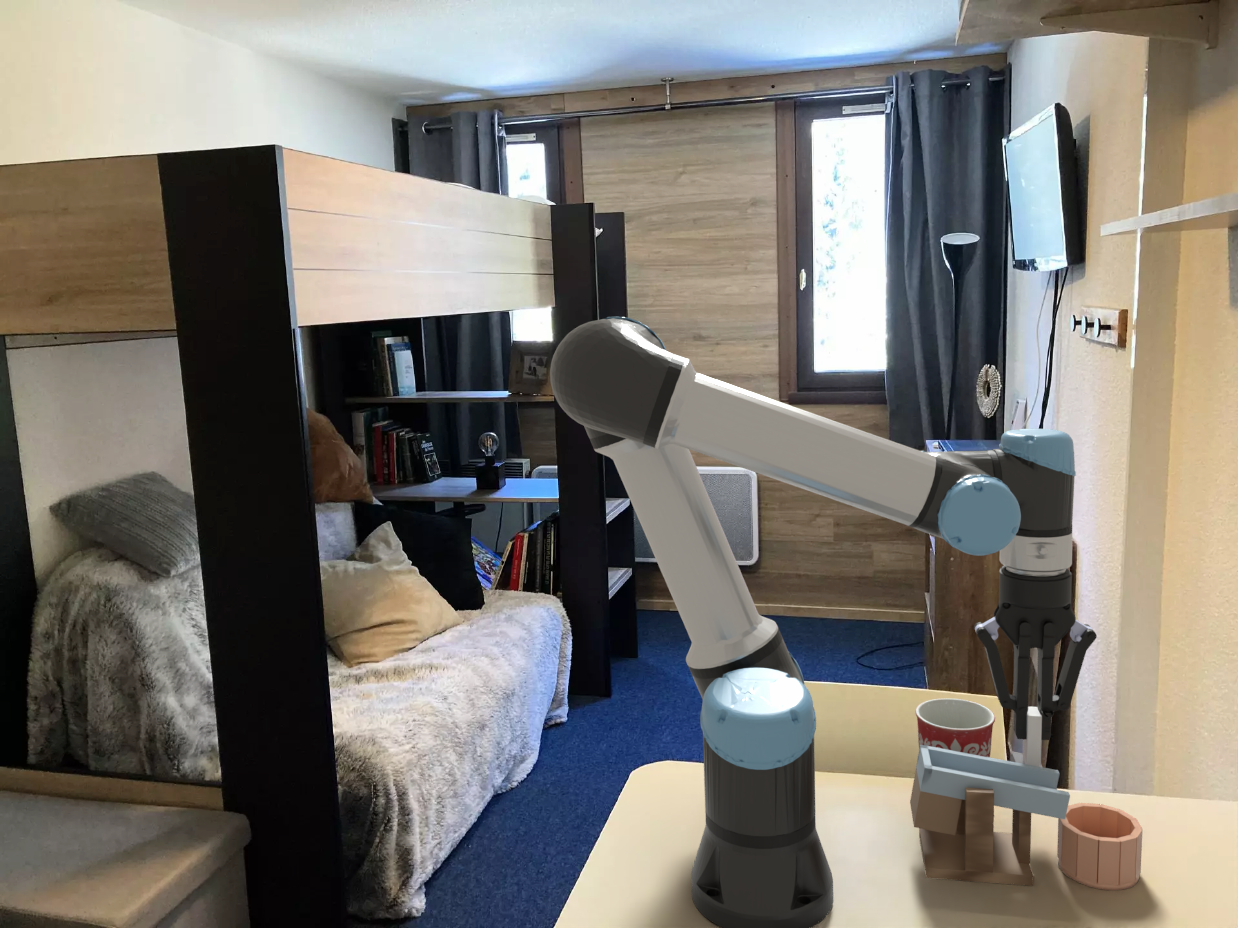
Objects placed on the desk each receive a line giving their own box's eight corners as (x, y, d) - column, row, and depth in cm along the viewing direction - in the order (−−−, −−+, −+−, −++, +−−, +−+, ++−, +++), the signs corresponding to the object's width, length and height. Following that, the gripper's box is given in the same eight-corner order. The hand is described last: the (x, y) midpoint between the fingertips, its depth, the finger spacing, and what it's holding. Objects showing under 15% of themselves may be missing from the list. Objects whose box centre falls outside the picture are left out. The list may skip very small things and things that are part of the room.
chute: (914, 828, 109) (924, 768, 108) (905, 773, 122) (915, 718, 120) (1057, 857, 106) (1070, 796, 105) (1033, 798, 119) (1044, 742, 117)
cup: (1067, 886, 106) (1068, 838, 105) (1051, 846, 113) (1052, 800, 112) (1149, 892, 104) (1151, 843, 103) (1127, 851, 112) (1128, 805, 111)
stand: (926, 877, 108) (926, 789, 107) (919, 836, 117) (919, 753, 115) (1034, 885, 106) (1036, 795, 104) (1019, 842, 114) (1021, 758, 113)
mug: (998, 839, 115) (1000, 730, 113) (917, 833, 117) (917, 726, 115) (984, 787, 127) (986, 688, 125) (911, 782, 130) (911, 684, 127)
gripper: (978, 575, 109) (977, 776, 113) (1106, 577, 106) (1100, 782, 110) (969, 558, 116) (968, 747, 120) (1089, 558, 113) (1084, 752, 117)
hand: (1031, 763), depth 115 cm, fingers closed
